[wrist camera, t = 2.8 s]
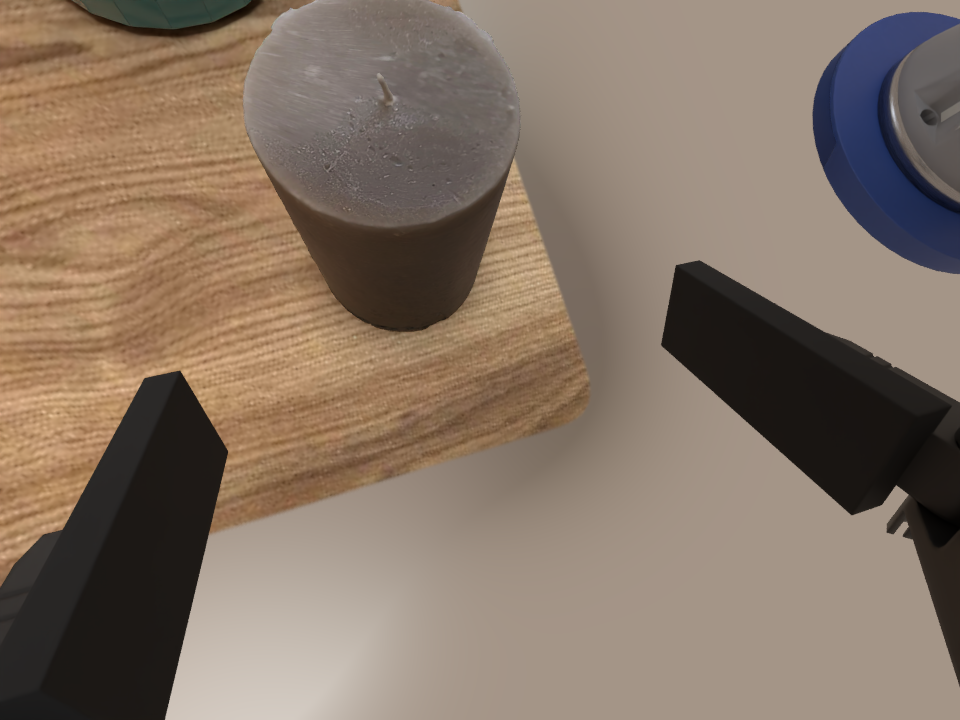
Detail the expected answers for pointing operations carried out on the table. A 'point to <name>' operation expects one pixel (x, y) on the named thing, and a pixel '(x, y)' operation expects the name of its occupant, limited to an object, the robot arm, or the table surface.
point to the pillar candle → (386, 148)
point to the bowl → (162, 11)
